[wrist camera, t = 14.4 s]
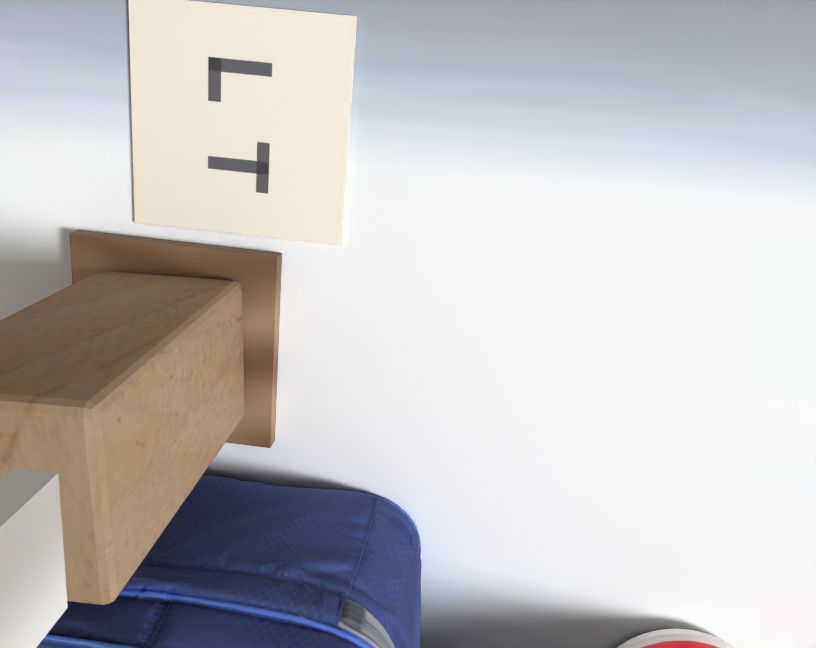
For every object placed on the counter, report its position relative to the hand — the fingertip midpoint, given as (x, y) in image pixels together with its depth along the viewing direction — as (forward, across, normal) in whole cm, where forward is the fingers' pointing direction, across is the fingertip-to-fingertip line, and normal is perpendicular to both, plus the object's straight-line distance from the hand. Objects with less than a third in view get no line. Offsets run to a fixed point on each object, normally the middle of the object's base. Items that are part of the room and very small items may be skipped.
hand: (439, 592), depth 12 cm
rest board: (+37, -19, -11) cm, 43 cm away
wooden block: (+36, -19, -11) cm, 42 cm away
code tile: (+37, -15, +4) cm, 40 cm away
